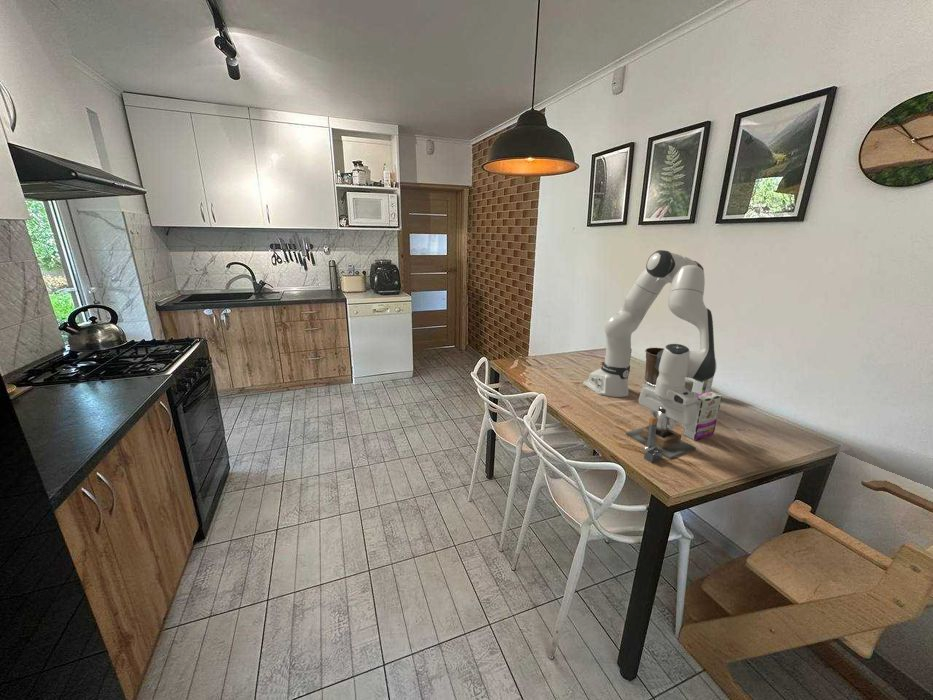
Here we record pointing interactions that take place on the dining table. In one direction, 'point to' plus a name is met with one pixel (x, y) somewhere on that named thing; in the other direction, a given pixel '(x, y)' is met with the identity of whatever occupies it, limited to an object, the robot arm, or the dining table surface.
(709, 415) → the candy bar box
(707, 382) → the syrup box
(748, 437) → the dining table surface
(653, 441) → the bar
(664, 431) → the steel pin
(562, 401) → the dining table surface
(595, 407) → the dining table surface
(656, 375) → the plant pot
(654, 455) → the retainer base
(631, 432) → the hitch block
